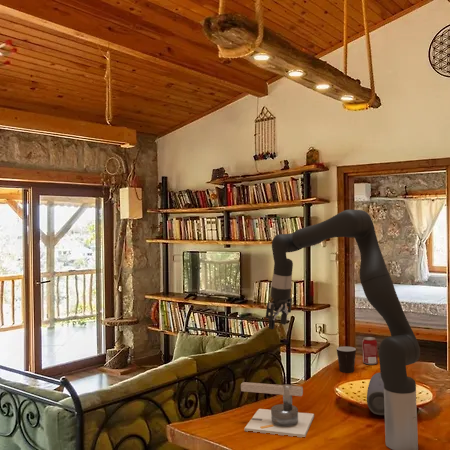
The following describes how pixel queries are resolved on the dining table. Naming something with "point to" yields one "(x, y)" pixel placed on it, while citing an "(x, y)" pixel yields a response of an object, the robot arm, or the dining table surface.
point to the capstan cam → (282, 412)
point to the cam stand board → (264, 425)
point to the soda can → (369, 350)
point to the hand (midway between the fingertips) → (277, 326)
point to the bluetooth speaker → (376, 395)
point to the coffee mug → (346, 359)
